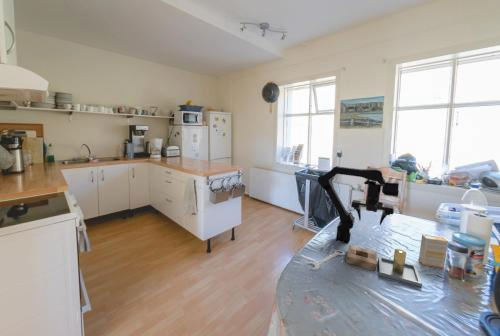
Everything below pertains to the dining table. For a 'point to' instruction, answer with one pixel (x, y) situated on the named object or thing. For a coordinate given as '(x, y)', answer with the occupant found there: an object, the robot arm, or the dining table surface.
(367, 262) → the pin block
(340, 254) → the wrench
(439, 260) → the supplement box
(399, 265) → the brass pin
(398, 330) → the dining table surface
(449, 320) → the dining table surface
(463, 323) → the dining table surface
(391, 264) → the tray
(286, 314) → the dining table surface
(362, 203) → the robot arm
